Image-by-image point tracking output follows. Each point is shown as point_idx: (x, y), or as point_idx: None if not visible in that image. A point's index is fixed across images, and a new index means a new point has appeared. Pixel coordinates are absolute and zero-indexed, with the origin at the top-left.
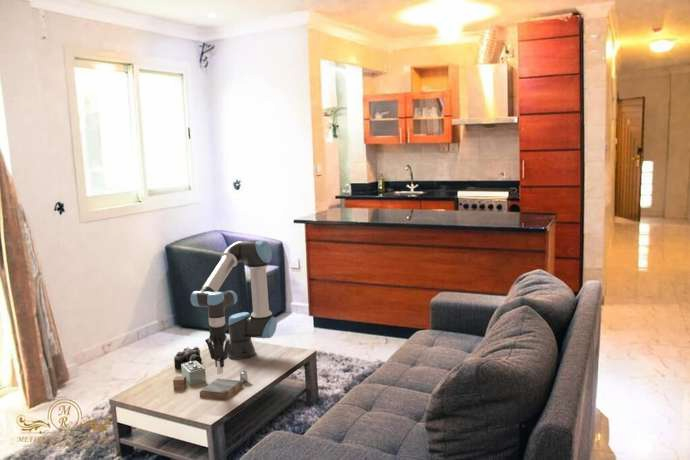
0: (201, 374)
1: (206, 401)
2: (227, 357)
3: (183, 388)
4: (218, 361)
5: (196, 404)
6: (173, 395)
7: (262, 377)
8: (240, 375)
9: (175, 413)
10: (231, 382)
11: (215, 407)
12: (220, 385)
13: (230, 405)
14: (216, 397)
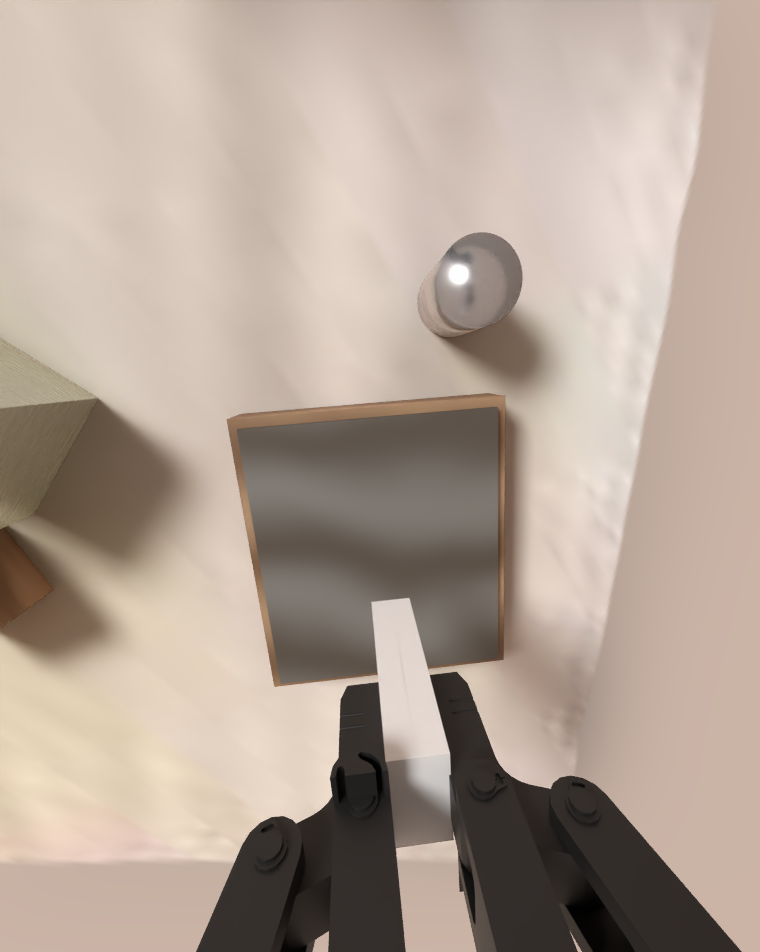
0: (17, 442)
1: None
2: (607, 797)
3: (44, 595)
4: (432, 838)
5: None
6: (76, 695)
7: (571, 124)
8: (454, 325)
9: None
10: (430, 470)
11: None
12: (372, 556)
13: (556, 683)
14: None
